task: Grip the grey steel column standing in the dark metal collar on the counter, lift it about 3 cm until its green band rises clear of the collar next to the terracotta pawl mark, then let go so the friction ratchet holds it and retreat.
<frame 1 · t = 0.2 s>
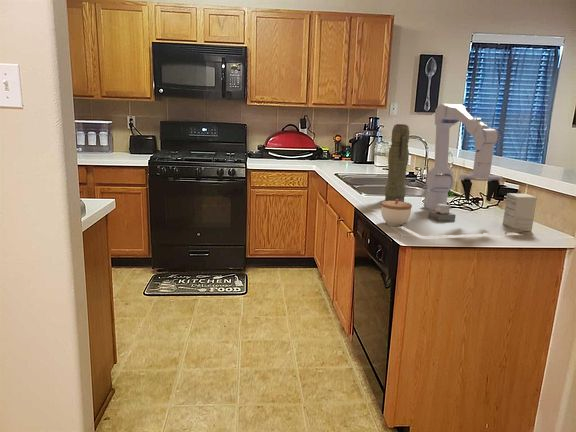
hand: (477, 200, 160), 10 cm above the worktop, fingers open, 7 cm apart
potted cactus: (394, 201, 205), on the worktop
column: (442, 211, 168), point 4 cm above the worktop, slide at 0.0 cm
supplement box: (516, 229, 162), on the worktop
lidded jar: (394, 224, 163), on the worktop
stand base: (440, 221, 168), on the worktop
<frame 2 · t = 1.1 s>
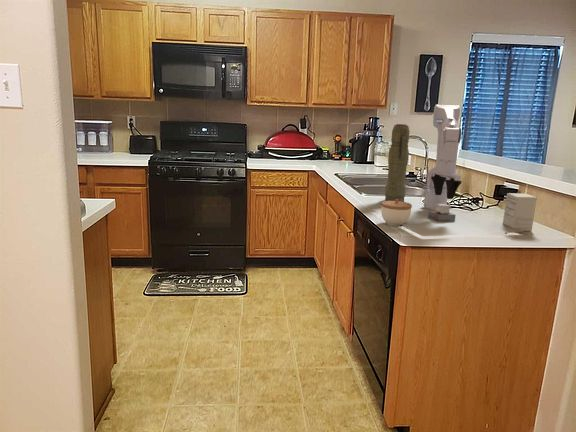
hand: (443, 196, 166), 10 cm above the worktop, fingers open, 7 cm apart
nothing on the worktop moved.
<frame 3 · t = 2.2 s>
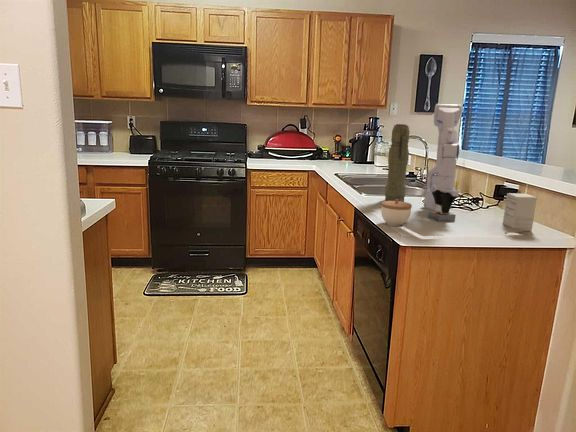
hand: (442, 211, 168), 4 cm above the worktop, fingers closed on column, 4 cm apart
column: (442, 212, 168), point 4 cm above the worktop, slide at 0.0 cm, touching gripper
everything else where it was.
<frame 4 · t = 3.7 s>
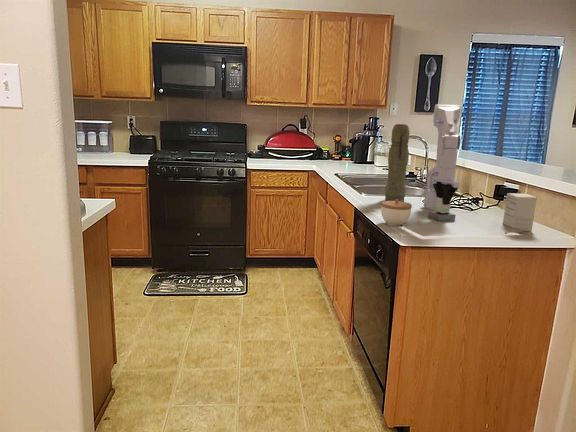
hand: (443, 203, 167), 7 cm above the worktop, fingers closed on column, 4 cm apart
column: (442, 204, 167), point 7 cm above the worktop, slide at 2.8 cm, touching gripper
everything else where it was.
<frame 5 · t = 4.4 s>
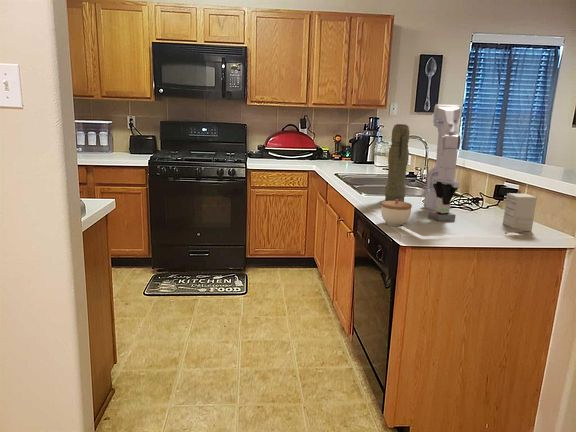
hand: (443, 203, 167), 7 cm above the worktop, fingers closed on column, 3 cm apart
column: (442, 204, 167), point 7 cm above the worktop, slide at 2.8 cm, touching gripper
everything else where it was.
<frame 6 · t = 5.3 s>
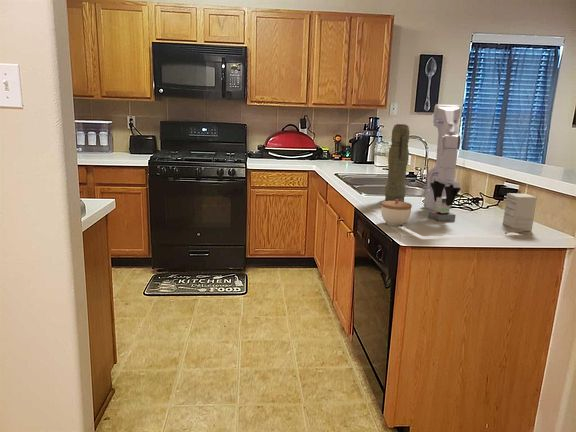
hand: (443, 203, 167), 7 cm above the worktop, fingers open, 7 cm apart
column: (442, 204, 167), point 7 cm above the worktop, slide at 2.8 cm
everything else where it was.
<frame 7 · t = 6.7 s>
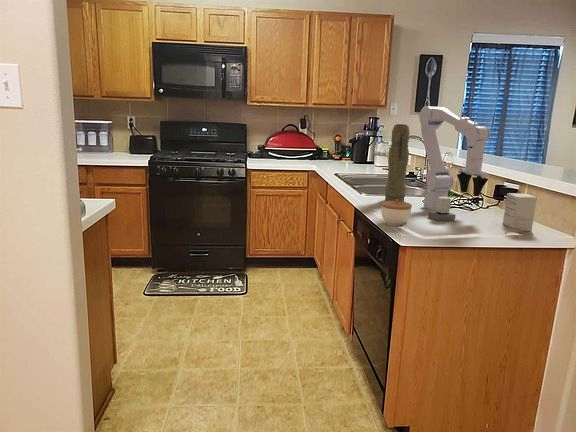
hand: (469, 194, 170), 10 cm above the worktop, fingers open, 7 cm apart
nothing on the worktop moved.
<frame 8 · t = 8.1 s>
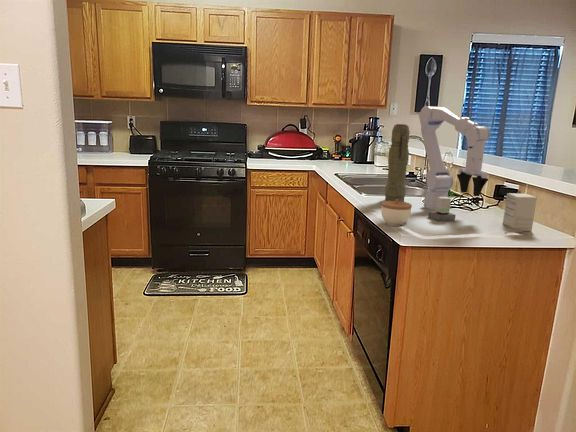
hand: (469, 194, 170), 10 cm above the worktop, fingers open, 7 cm apart
nothing on the worktop moved.
at the end: column slide at 2.8 cm; the gripper is holding nothing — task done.
